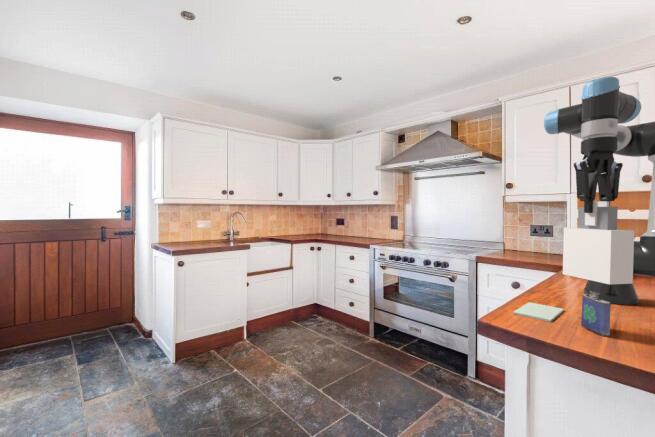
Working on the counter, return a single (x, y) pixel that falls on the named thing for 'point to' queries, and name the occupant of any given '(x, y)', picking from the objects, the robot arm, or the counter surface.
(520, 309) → the mat
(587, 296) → the flask
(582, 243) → the off-white upright block
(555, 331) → the counter surface
